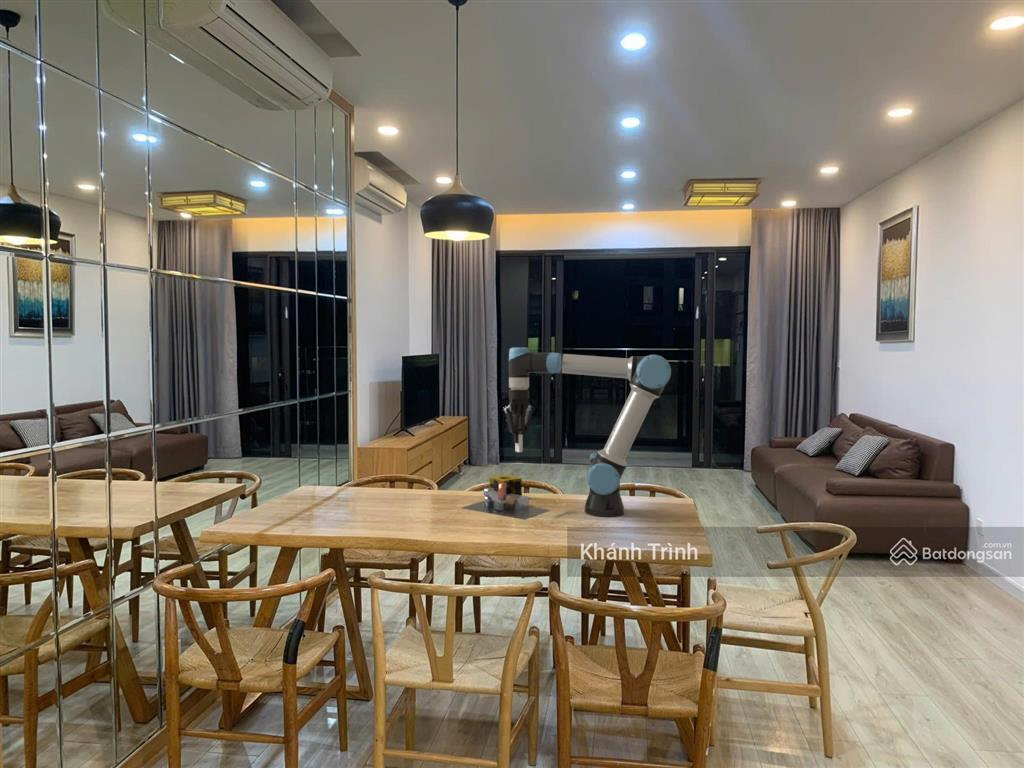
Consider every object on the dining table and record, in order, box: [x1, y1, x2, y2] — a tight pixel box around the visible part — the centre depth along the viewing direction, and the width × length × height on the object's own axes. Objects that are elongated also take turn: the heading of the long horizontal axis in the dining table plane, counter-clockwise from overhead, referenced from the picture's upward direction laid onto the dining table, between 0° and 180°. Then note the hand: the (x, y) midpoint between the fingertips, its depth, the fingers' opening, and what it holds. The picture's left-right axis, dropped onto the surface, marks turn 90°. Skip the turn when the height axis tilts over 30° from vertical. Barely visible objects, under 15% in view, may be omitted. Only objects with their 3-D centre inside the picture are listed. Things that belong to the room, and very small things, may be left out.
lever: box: [483, 483, 506, 510], centre depth 253 cm, size 18×4×11 cm, turn 21°
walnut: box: [506, 496, 517, 509], centre depth 257 cm, size 4×4×4 cm
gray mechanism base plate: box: [461, 494, 551, 521], centre depth 255 cm, size 30×18×6 cm, turn 55°
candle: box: [489, 474, 523, 496], centre depth 276 cm, size 10×10×10 cm
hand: (518, 451), depth 249 cm, fingers closed
